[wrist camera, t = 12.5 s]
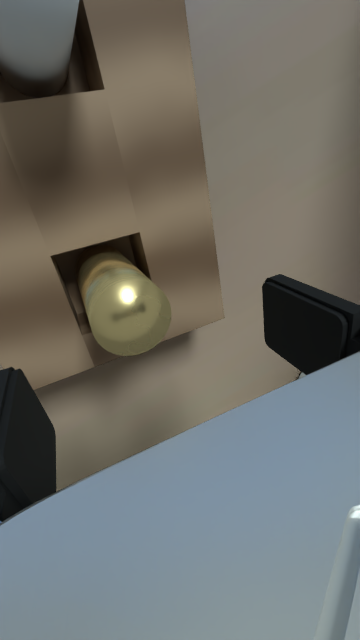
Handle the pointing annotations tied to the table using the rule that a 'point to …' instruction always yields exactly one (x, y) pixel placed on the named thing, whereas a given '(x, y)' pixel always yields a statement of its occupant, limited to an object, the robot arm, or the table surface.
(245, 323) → the table surface
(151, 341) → the brass pin
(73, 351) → the bore block
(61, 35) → the grey pin
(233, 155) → the table surface
